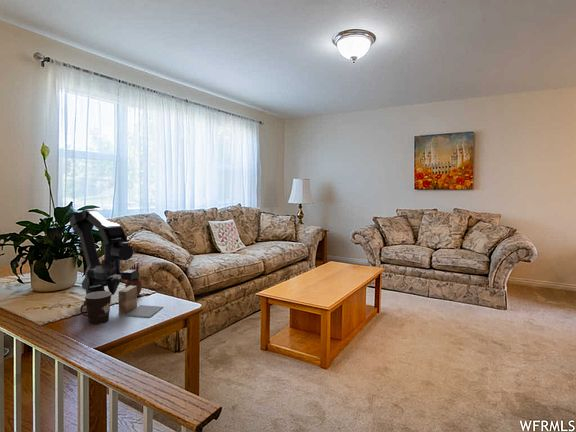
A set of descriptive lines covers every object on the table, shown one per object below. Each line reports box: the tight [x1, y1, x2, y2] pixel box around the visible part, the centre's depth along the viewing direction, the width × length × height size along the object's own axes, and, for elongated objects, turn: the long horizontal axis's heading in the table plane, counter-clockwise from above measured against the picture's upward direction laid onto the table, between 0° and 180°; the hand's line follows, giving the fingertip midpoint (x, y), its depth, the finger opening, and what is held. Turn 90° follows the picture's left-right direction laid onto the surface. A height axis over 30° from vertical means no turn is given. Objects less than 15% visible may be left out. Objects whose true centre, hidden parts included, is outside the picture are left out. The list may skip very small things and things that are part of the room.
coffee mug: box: [79, 290, 112, 326], centre depth 126 cm, size 12×9×10 cm
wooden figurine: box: [124, 262, 143, 296], centre depth 157 cm, size 7×6×15 cm
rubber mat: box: [124, 304, 164, 319], centre depth 138 cm, size 10×11×1 cm
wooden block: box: [118, 286, 138, 315], centre depth 139 cm, size 3×8×9 cm, turn 174°
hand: (112, 294), depth 139 cm, fingers closed
